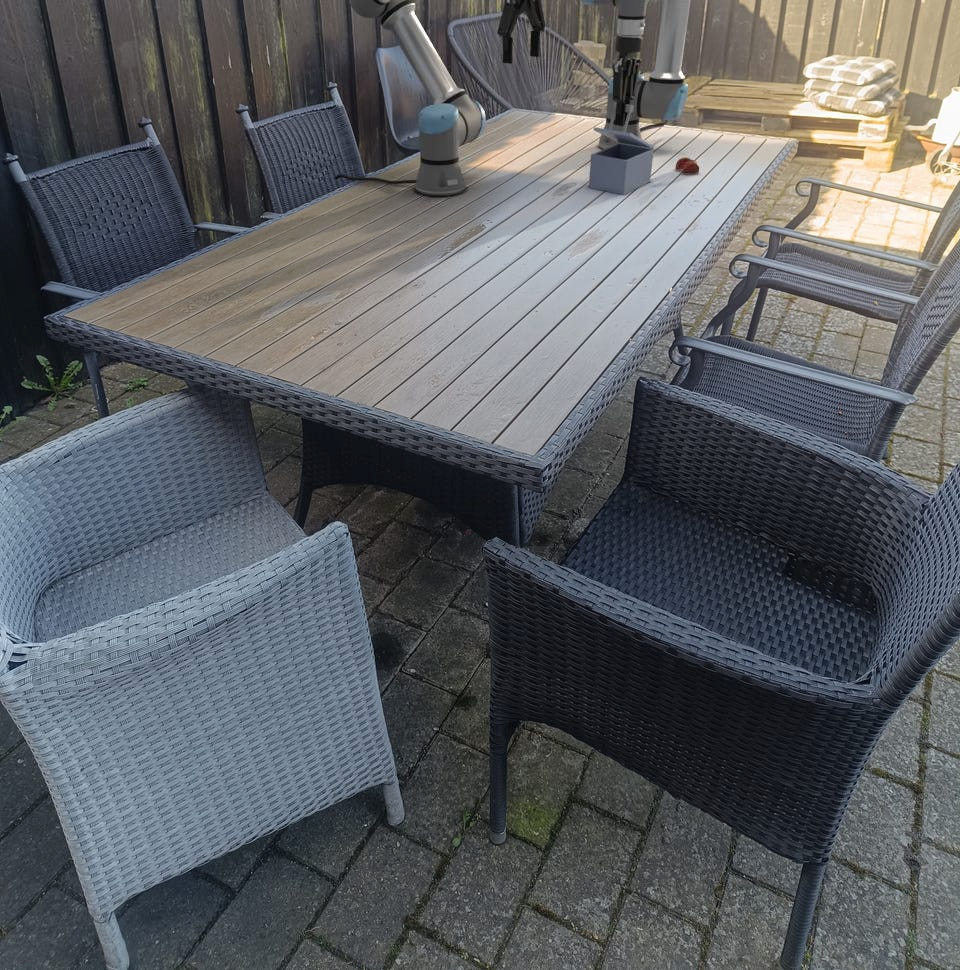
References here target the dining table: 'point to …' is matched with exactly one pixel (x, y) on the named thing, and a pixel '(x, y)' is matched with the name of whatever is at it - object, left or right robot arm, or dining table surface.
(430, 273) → the dining table surface
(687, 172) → the dark red rounded lump
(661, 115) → the right robot arm
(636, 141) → the lid
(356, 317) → the dining table surface
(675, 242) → the dining table surface
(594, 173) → the chest
